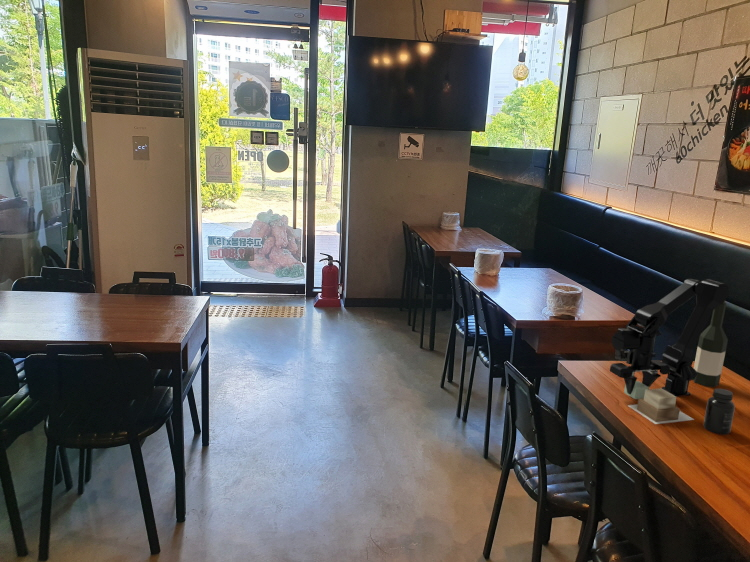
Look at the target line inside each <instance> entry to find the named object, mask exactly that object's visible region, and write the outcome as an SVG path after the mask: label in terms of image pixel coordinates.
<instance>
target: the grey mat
mask: <svg viewBox="0 0 750 562" xmlns="http://www.w3.org/2000/svg"><path fill="white" fill-rule="evenodd" d="M637 405H638V403H637V404H629V405H627V406H628V407H629V408H630V409H632V410H634V412H636V413H638V414H640V415H641V416H642V417H644V418H645V419H647V420H649V422H651V423H653V424H654V425H659V424H669V423H670V424H671V423H677V422H678V423H679V422H686V421H694V420H695V419H694V418H692V417H690V416H689V415H687V414H686V413H684V412H683V411H681V410H680V412H679V417H678V420H670V421H661V422H655V421H653V420H652V419H650V418H649V417H647V416H646V415H644V414H643V413H641V412H640V411H638V410H637Z"/></svg>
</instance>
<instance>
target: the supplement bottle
mask: <svg viewBox="0 0 750 562" xmlns="http://www.w3.org/2000/svg"><path fill="white" fill-rule="evenodd" d="M733 397H734V393H733V392H732V391H731V390H728V389H726V388H725V389H724V388H714V389H713V392H712V396H711V397H709V398H708V399H707V402H706V408H705V413H704V418H703V419H704V420H703V428H704V429H705V430H707V431H708V432H710V433H713V434H715V435H723V436H725V435H729V434H730V433H731V431H732V426H733V419H734V413H735V411H736V405H735V403H734V402H733Z"/></svg>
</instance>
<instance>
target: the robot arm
mask: <svg viewBox="0 0 750 562" xmlns="http://www.w3.org/2000/svg"><path fill="white" fill-rule="evenodd" d="M729 294H730V290H729V286H728V285H727V284H726V283H724V282H720V281H715V280H712V279H710V278H707V279H704V280H699V279H694V278H687V279H685V280H684V281H683V283H682V284H681V285H679V286H678V287H676V288H675V289H673V290H672V291H671V292H670V293H668V294H667V295H665V296H664V297H662V298H661V299H660V300H659V301H657V302H655V303H652V304H647V305H645V306H642V308H639V309H637V311H636V312H635V314H634V315H633V317H632V318H631V319H630V321H629V322H628V323H627V324H626V325H625V327H626V328H618V329H617V331H616V332H614V333H613V335H612V336H611V345H612V347H613V348H614V350H615V351H614V352H615V353H614V359H616V360H618V361H619V362H616V363H611V365H610V366H609V367H610V368H609V372H610V373H612V374H614V375H615V376H617V377H619V378H621V379H624V383H625V384H626V388H627V393H628V394H631V393H632V391H633V388H634V385H635V383H636V381H638V377H637V376H635V373H638V372H639V373H640V372H641V373H642V380H641V383H643V384H644V385H646V386H648V387H649V388H650V387H651V386H652V385H653V384H654V383H655V382H656V380H657V379H659V378H661V375H666V376H667V377H666V379H665V383H664V386H661V388H662V389H664V390H666V391H667V392H669V393H671V394H673V395H674V396H676V397H682V396H691V395H692V393H691V392H689V385H690V382H691V381H693V379H695V377H696V375H697V373H696V371H695V370H694V366H692V365H693V362H694V361H695V360H694V359H695V358H694V348H695V346H696V344H697V343H698V342H699V337H700V335H701V333H702V332H703V331H704V330H705V327H706V325H707V323H708V321H709V319H710V317H711V316H712V313H713V310H714V309H716V308H717V307H719V306H720V305H722V304H723V303H724V301H725V302H726V299H727V298H728V297H729ZM695 296H696V297H695ZM693 297H695V299H696V305H695V307H694V309H693V311H692V313H691V315H690V317H689V319H688V321H687V322H686V324H685V326H684V328H683V330H682V333H681V334H680V336H679V338H678V339H677V342H676V343H674V344H673V345H672V346H671V345H667V346H666V347H665V349H664V350H665V351H664V352H663V354H662V355H661V356H662V358H661V360H659V359H655V360H653V358H656V353H655V352H654V346H655V343H656V342H655V341H656V337H658V336H662V335H663V334H662V332H661V331H660V330H659V329H660V328H661V327H662V326H663V325H664V324H665V323H666V322H667V318H668V316H669V315H670V314H672V313H673V312H674V311H676V310H677V309H679V307H681V306H683V305H684V304H685V303H686V302H688V301H690V300H691V298H693ZM623 362H625V363H626V364H628V365H629V366H628V365H626V364H624V363H623ZM659 373H660V374H659ZM625 384H624V385H625Z"/></svg>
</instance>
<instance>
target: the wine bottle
mask: <svg viewBox="0 0 750 562" xmlns="http://www.w3.org/2000/svg"><path fill="white" fill-rule="evenodd" d="M726 307H727V302H726V300H725V301H724V303H723V304H722V305H720V306H719V307H717V308H716V309H714V310H713V312H712V313H711V320H710V324H709V325H708V326H707V327H706V328H704V329H703V331H702V333H701V335H700V337H699V339H698V341H697V343H698V344H697V347H696V348H697V349H696V354H695V358H694V359H695V360H694V364H693V369H694V370H695V371H696V373H697V375H696V377H695V379H693V380H692V381H693V383H694V384H698V385H700V386H703V387H709V388H716V387H718V386H719V385H720V382H721V376H722V371H723V367H724V366H723V365H724V361H725V356H726V352H727V346H728V341H729V339H728V337H727V334H726V333H725V330H724V329H723V322H724V318H725V313H726Z"/></svg>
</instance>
